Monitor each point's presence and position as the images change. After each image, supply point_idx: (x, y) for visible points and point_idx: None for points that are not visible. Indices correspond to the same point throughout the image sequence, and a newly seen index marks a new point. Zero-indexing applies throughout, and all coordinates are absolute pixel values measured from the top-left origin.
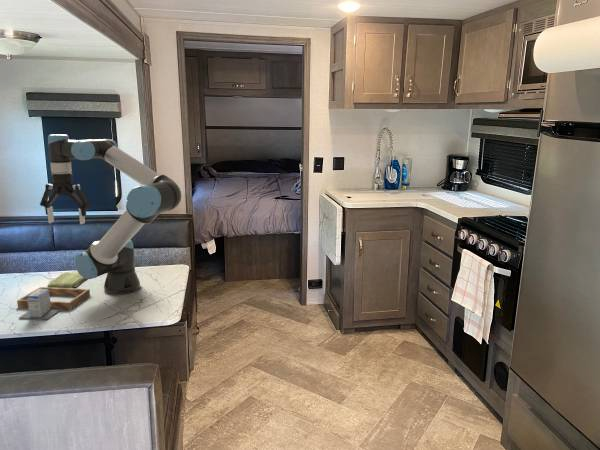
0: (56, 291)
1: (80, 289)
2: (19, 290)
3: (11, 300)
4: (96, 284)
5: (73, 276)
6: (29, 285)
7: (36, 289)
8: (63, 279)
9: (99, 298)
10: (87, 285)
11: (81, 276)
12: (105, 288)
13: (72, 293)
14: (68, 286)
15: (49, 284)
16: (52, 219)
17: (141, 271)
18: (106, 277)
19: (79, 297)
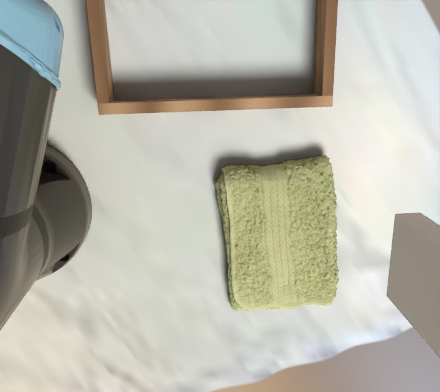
0: (250, 97)
1: (137, 104)
2: (428, 123)
3: (401, 12)
4: (156, 232)
5: (269, 256)
6: (418, 180)
7: (333, 75)
8: (291, 217)
9: None
10: (186, 216)
11: (238, 264)
12: (52, 155)
13: (177, 99)
14: (238, 167)
15: (323, 164)
16: (409, 288)
17: (60, 388)
18: (46, 191)
19: (89, 19)
